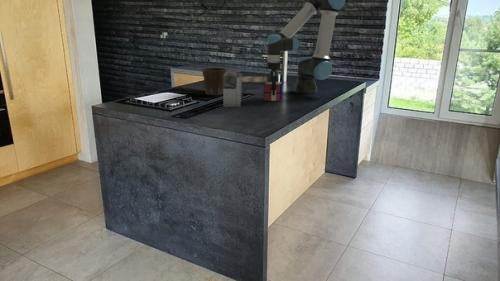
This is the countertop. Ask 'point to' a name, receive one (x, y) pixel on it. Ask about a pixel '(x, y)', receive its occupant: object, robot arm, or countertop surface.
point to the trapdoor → (231, 79)
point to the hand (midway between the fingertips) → (273, 98)
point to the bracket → (233, 94)
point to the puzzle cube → (268, 92)
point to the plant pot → (214, 80)
